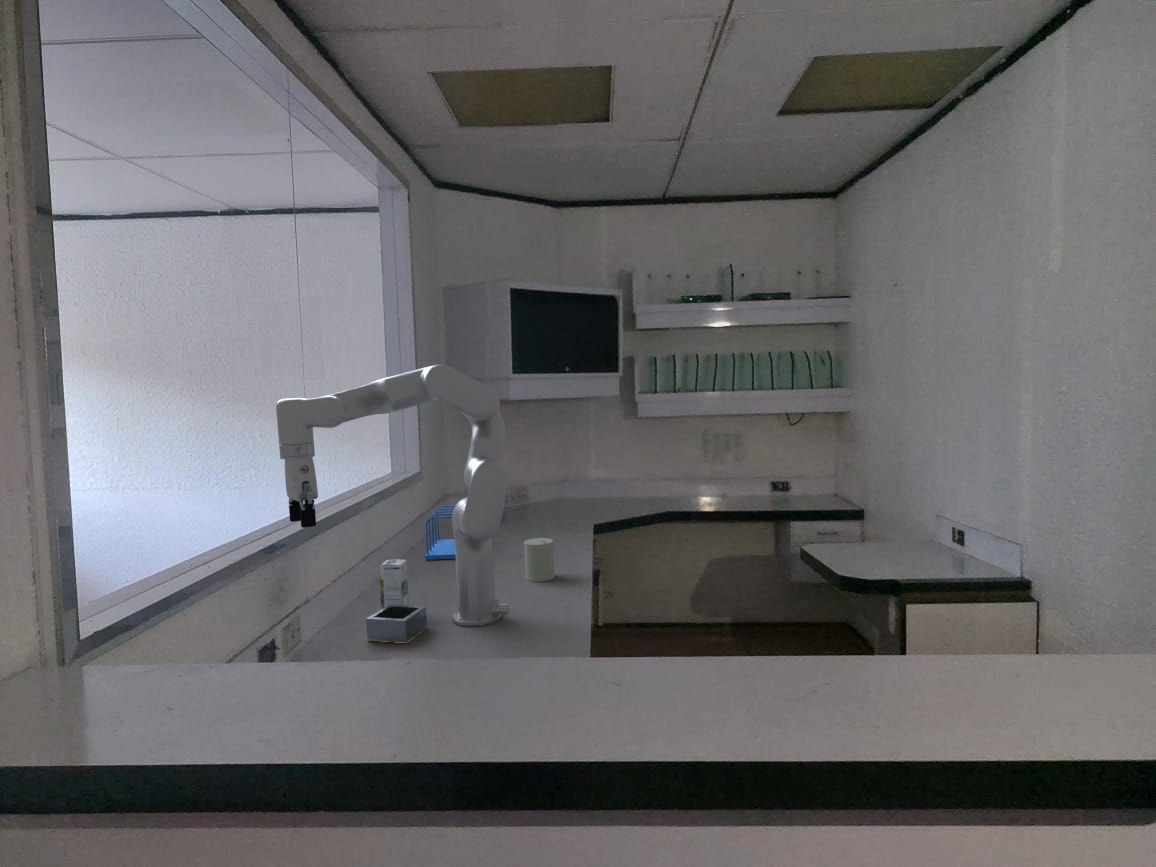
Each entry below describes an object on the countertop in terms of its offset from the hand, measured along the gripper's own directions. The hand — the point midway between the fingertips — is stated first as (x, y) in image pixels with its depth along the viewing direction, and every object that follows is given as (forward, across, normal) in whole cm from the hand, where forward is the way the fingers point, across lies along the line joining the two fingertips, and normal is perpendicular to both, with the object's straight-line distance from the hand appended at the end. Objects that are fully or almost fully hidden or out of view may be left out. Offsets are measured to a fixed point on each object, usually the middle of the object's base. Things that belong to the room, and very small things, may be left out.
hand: (302, 523), depth 158 cm
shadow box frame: (+30, -7, -18) cm, 36 cm away
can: (+30, +10, -71) cm, 78 cm away
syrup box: (+30, +7, -23) cm, 39 cm away
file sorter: (+30, +61, -68) cm, 96 cm away
